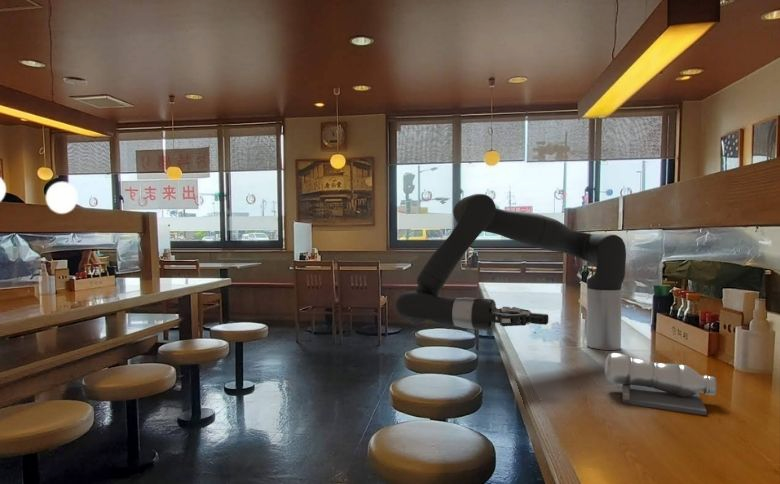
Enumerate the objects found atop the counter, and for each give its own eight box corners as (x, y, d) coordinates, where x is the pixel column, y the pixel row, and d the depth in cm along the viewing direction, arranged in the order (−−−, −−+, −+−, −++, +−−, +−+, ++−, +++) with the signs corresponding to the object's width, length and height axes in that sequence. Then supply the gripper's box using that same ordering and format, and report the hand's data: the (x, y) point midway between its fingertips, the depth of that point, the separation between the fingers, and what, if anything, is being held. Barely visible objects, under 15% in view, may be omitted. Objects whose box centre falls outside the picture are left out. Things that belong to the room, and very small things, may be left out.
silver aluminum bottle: (603, 368, 105) (708, 388, 97) (602, 387, 99) (714, 410, 91) (606, 344, 102) (714, 362, 94) (605, 363, 97) (720, 384, 89)
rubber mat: (622, 381, 106) (622, 373, 106) (695, 390, 100) (695, 382, 100) (622, 403, 93) (622, 394, 93) (706, 415, 87) (706, 405, 87)
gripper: (466, 301, 108) (544, 307, 100) (481, 294, 120) (552, 299, 112) (466, 334, 108) (543, 342, 101) (481, 323, 120) (551, 330, 112)
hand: (547, 319), depth 106 cm, fingers closed
